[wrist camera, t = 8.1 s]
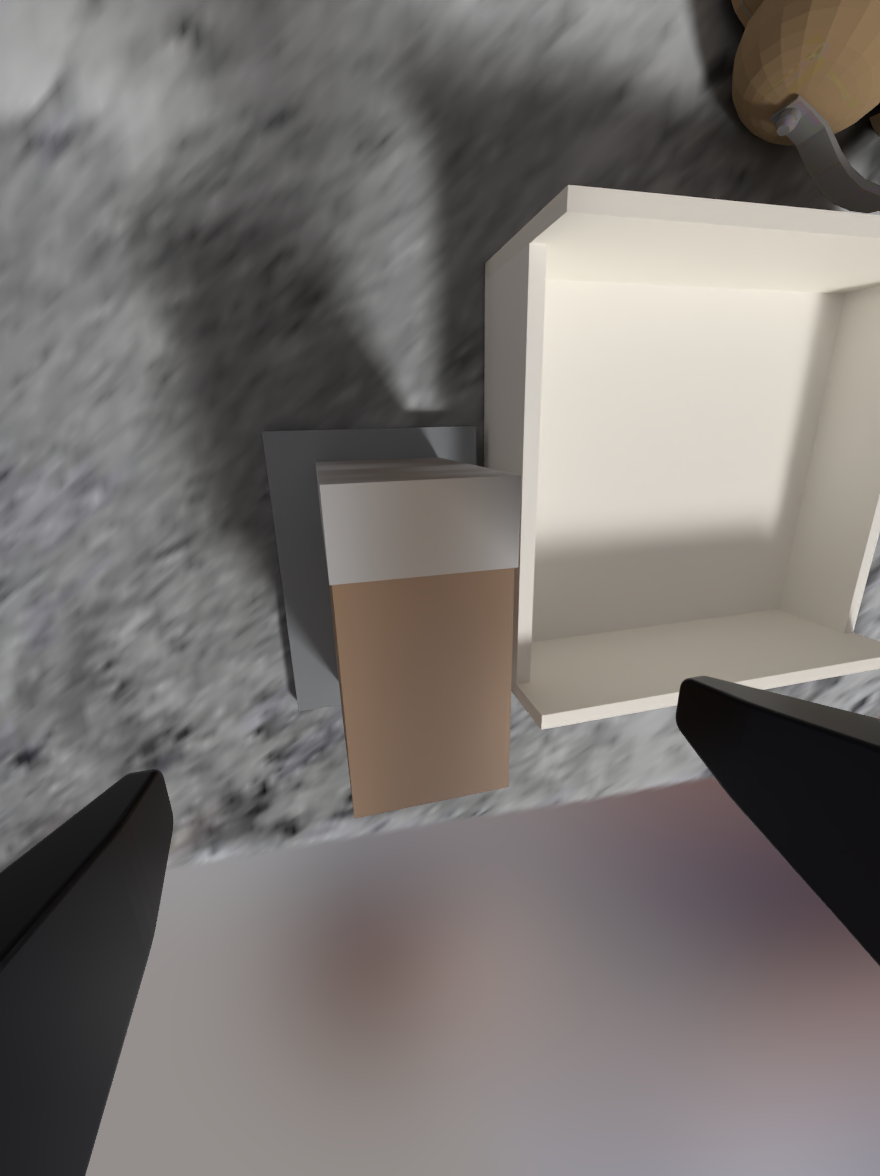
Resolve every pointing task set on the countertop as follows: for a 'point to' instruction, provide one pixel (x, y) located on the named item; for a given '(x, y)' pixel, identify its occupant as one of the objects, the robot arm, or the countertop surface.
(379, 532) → the walnut block
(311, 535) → the slate mat
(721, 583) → the drawer
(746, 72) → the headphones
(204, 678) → the countertop surface
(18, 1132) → the robot arm
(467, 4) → the countertop surface
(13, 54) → the countertop surface
